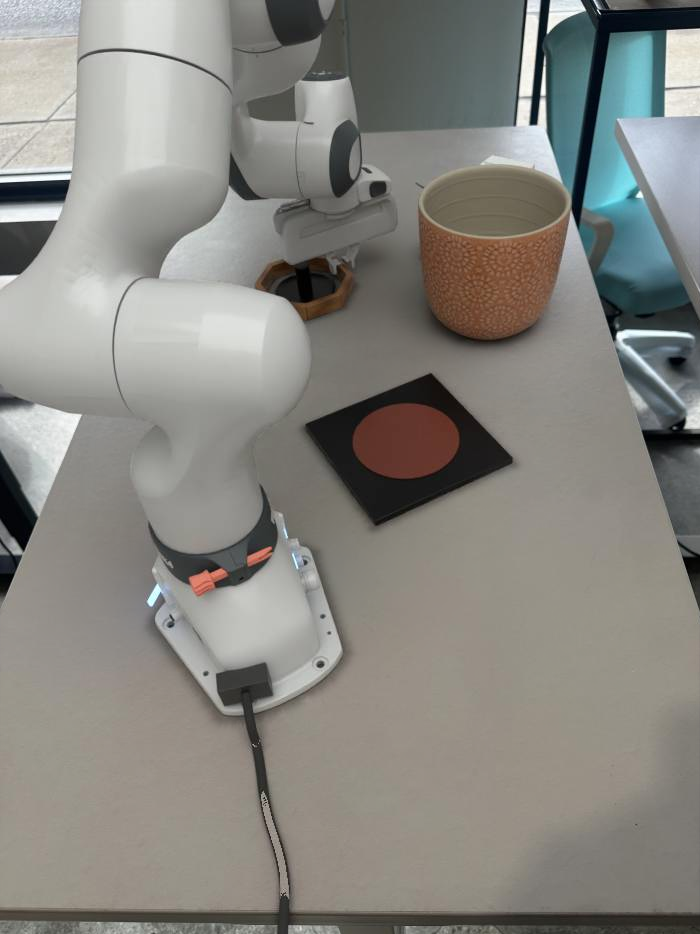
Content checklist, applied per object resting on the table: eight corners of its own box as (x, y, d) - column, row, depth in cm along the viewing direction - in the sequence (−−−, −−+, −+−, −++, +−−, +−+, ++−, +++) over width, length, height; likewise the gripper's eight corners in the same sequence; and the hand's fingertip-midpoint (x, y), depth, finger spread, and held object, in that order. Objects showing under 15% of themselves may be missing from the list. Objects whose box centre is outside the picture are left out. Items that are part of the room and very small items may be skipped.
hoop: (366, 299, 119) (365, 285, 117) (282, 329, 114) (280, 316, 112) (326, 258, 127) (324, 244, 125) (246, 284, 123) (244, 271, 121)
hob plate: (512, 463, 93) (513, 456, 92) (375, 526, 88) (375, 520, 87) (431, 378, 105) (431, 371, 104) (305, 429, 99) (304, 422, 99)
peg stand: (346, 296, 119) (343, 269, 115) (290, 316, 117) (285, 289, 113) (319, 268, 125) (316, 242, 121) (266, 287, 122) (260, 260, 119)
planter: (398, 339, 111) (393, 221, 97) (449, 269, 123) (451, 154, 108) (529, 372, 105) (545, 250, 90) (570, 294, 116) (590, 176, 102)
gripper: (279, 216, 106) (293, 298, 117) (401, 178, 112) (404, 260, 122) (263, 198, 110) (277, 280, 120) (381, 162, 116) (385, 243, 126)
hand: (342, 269), depth 121 cm, fingers closed on hoop, 1 cm apart
